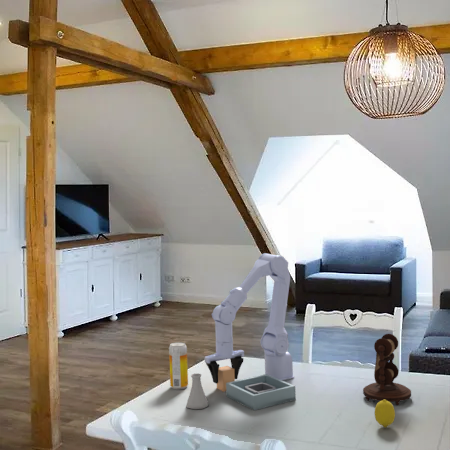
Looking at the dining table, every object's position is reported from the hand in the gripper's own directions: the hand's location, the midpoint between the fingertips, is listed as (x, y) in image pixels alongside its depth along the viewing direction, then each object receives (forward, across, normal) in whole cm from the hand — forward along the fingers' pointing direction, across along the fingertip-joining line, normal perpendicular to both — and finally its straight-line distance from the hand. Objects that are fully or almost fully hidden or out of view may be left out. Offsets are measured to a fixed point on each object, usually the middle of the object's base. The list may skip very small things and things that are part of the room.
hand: (225, 380), depth 221 cm
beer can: (+3, +12, -11) cm, 16 cm away
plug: (+3, 0, 0) cm, 3 cm away
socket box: (+3, -4, +15) cm, 16 cm away
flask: (+3, +16, +9) cm, 19 cm away
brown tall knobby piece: (+3, -36, +39) cm, 53 cm away
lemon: (+3, -18, +56) cm, 59 cm away
